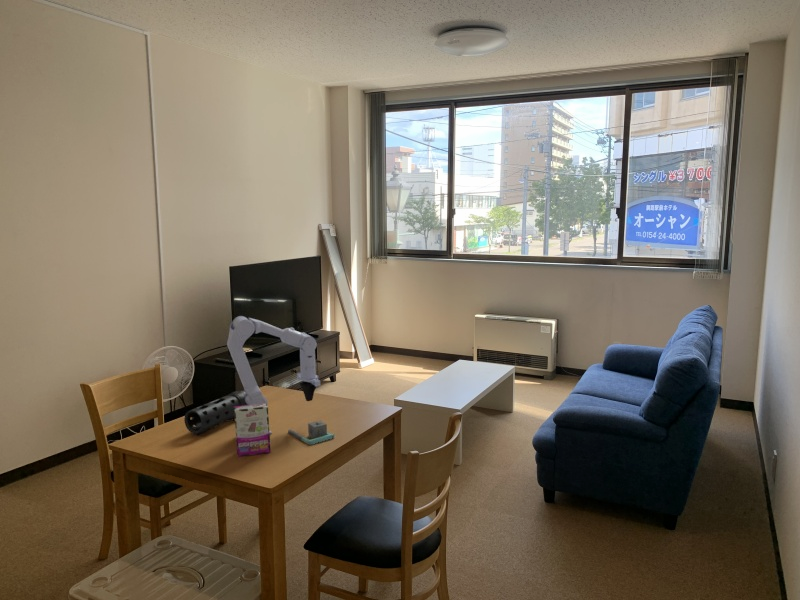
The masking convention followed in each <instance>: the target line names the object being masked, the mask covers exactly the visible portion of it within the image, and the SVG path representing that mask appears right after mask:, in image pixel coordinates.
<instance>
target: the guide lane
mask: <svg viewBox="0 0 800 600" xmlns="http://www.w3.org/2000/svg"><path fill="white" fill-rule="evenodd" d="M287 431H288V432H287V433H288V434H290V435H291V436H293V437H295V438H297V439H299V440H301V441H302V442H304V443H306V444H307V445H309V446H312V445H315V443H316V444H319V443H322V442H321V441H323V442H326V441H329V440H328V439H330V440H333V439H335V433H330V432H328V431H327V435H326V436H322V437H318V438H315V439H312V438H311V439H309V438H307V437H305V436H303V435H301V434H300V433H298V432H296V431H294V430H292V429H288V430H287ZM332 438H333V439H332ZM325 440H326V441H325ZM318 442H319V443H318Z"/></svg>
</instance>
